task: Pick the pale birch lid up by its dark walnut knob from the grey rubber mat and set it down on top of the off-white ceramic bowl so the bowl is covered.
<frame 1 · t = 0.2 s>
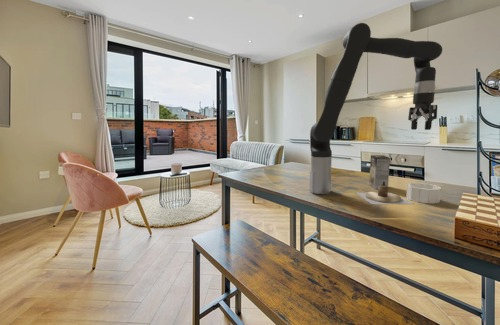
hand: (420, 129, 105), 29 cm above the table, tool pointing down, fingers open, 8 cm apart
bowl: (422, 200, 96), on the table
coffee box: (378, 188, 116), on the table
lid: (382, 197, 98), resting on mat
mat: (382, 199, 98), on the table
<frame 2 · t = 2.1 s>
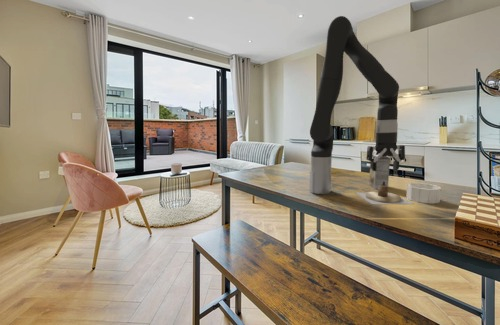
hand: (384, 170, 96), 12 cm above the table, tool pointing down, fingers open, 8 cm apart
nothing on the table moved.
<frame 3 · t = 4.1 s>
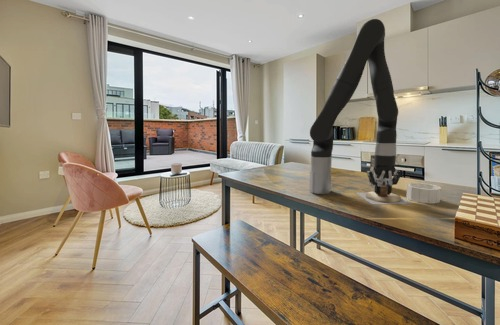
hand: (382, 194, 98), 2 cm above the table, tool pointing down, fingers closed on lid, 3 cm apart
lid: (382, 197, 98), point 1 cm above the table, touching gripper, mat
everything else where it was.
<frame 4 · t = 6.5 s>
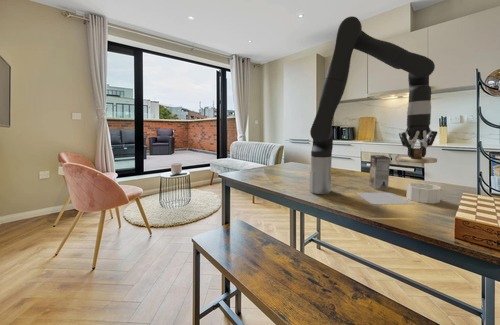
hand: (416, 156, 93), 18 cm above the table, tool pointing down, fingers closed on lid, 3 cm apart
lid: (416, 160, 93), point 16 cm above the table, touching gripper
everything else where it was.
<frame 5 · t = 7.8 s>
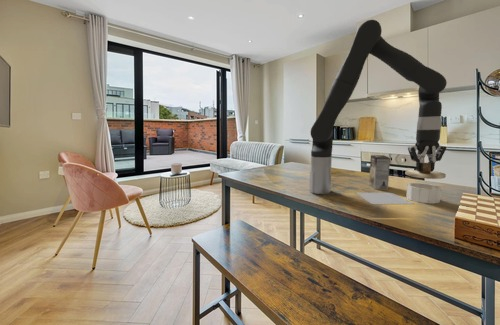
hand: (424, 171, 94), 12 cm above the table, tool pointing down, fingers closed on lid, 3 cm apart
lid: (424, 175, 94), point 11 cm above the table, touching gripper
everything else where it was.
when the fingers open (9 cm above the table, at t = 9.1 s): lid drops 1 cm, resting on bowl.
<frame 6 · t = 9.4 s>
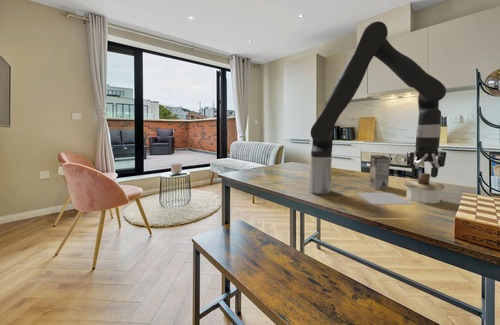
hand: (424, 177, 94), 10 cm above the table, tool pointing down, fingers open, 6 cm apart
lid: (423, 186, 95), point 6 cm above the table, touching bowl
everything else where it was.
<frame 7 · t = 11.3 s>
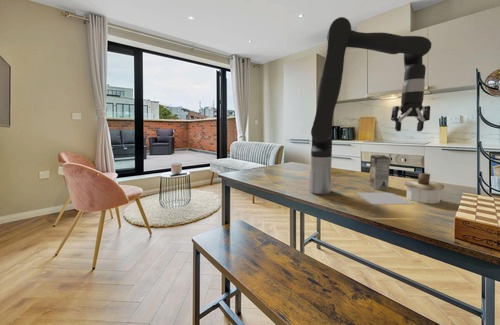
hand: (408, 131, 98), 28 cm above the table, tool pointing down, fingers open, 8 cm apart
nothing on the table moved.
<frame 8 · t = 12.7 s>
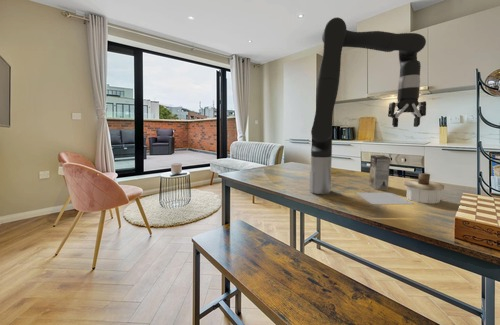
hand: (405, 126, 99), 30 cm above the table, tool pointing down, fingers open, 8 cm apart
nothing on the table moved.
at the end: lid 0.1 cm off-centre on the bowl, point 6.0 cm above the bowl's base; lid tilted 0°; the gripper is holding nothing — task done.
